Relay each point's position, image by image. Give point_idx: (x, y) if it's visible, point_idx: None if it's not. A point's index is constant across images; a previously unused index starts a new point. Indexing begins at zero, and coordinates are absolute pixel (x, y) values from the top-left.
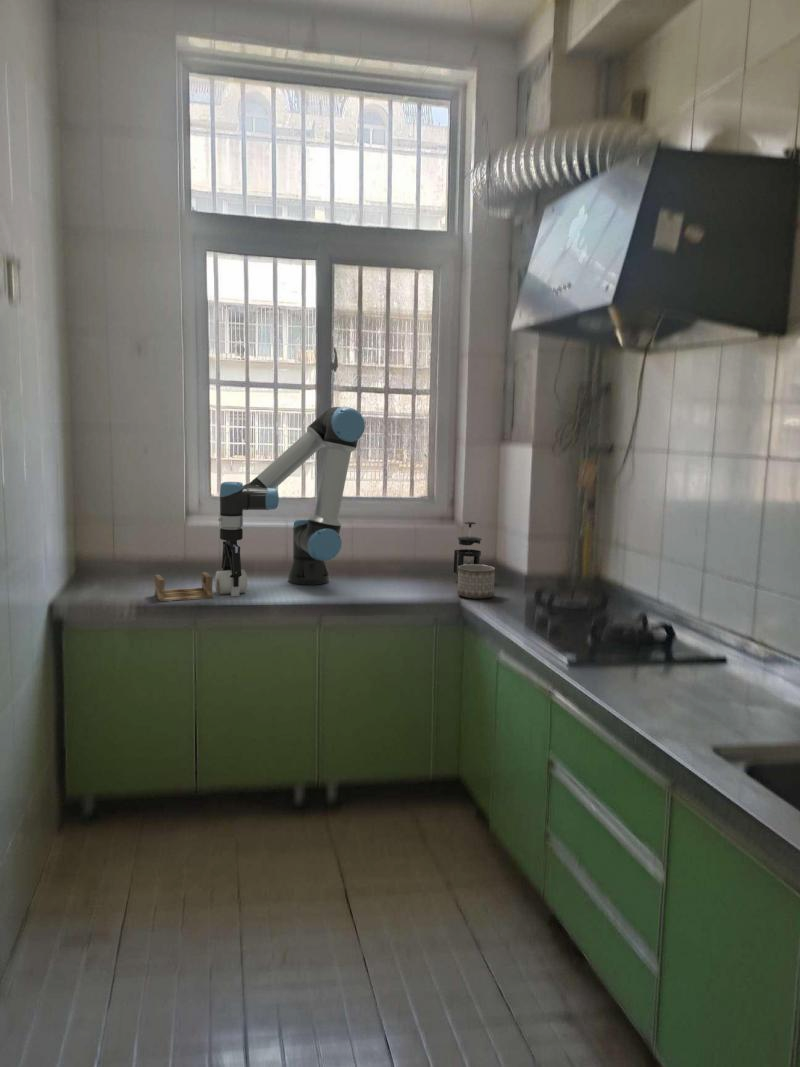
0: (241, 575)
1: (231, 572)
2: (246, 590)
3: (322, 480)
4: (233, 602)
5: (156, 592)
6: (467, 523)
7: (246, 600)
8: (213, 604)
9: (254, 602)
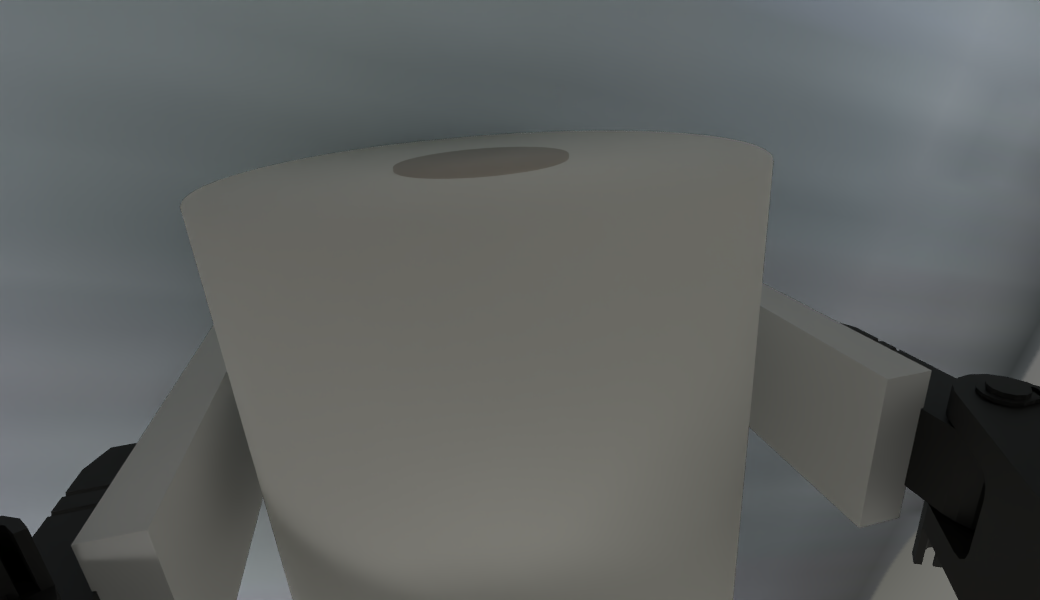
0: (756, 303)
1: (690, 566)
2: (609, 131)
3: None
4: (923, 342)
5: None
6: None
7: (910, 192)
8: (905, 512)
9: (1035, 116)
